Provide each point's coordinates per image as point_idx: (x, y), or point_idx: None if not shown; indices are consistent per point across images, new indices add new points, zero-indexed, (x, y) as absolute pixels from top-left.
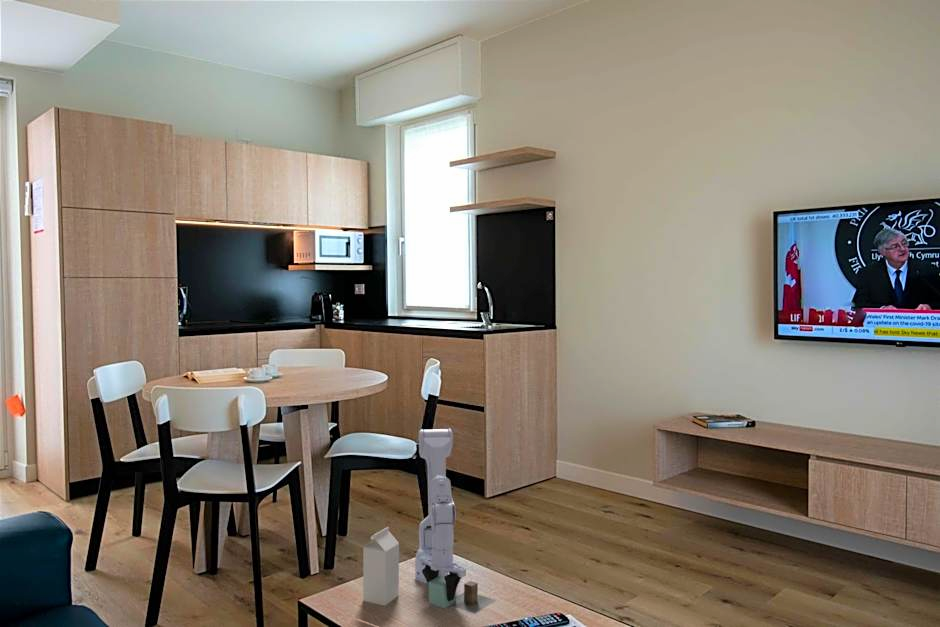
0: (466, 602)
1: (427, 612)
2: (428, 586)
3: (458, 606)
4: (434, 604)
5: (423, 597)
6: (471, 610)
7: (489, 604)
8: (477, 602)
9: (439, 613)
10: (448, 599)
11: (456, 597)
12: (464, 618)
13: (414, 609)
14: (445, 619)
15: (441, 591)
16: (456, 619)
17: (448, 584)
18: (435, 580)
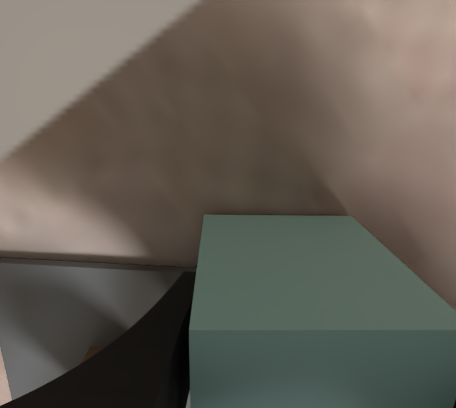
0: None
1: (293, 100)
2: None
3: (142, 286)
4: (304, 218)
5: (447, 282)
6: (32, 284)
7: (12, 396)
8: None
9: (202, 141)
10: (187, 275)
11: None
12: (4, 178)
13: (419, 81)
14: (98, 81)
15: (234, 281)
16: (35, 132)
17: (116, 372)
18: (401, 406)
